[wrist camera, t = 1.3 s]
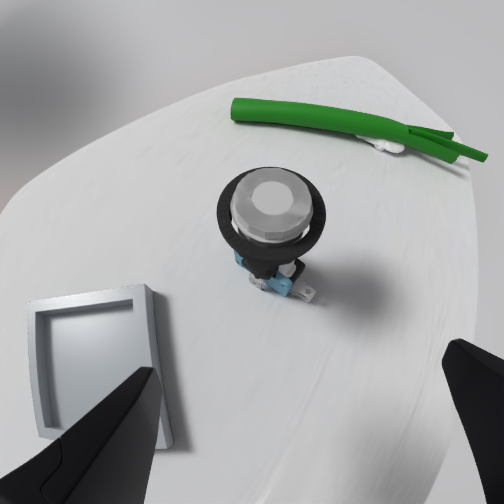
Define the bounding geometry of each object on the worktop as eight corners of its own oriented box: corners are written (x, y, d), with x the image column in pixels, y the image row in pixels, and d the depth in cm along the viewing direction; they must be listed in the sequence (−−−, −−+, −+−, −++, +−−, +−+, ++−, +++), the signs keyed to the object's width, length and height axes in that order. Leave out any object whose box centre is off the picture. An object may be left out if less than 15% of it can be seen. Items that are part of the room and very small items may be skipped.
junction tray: (174, 443, 17) (167, 448, 15) (51, 434, 16) (39, 437, 15) (152, 290, 22) (144, 283, 20) (40, 306, 21) (28, 301, 19)
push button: (328, 274, 22) (372, 205, 13) (288, 330, 20) (314, 295, 11) (260, 227, 24) (260, 139, 15) (217, 277, 22) (190, 207, 13)
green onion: (232, 133, 29) (482, 182, 25) (228, 110, 26) (495, 166, 22) (241, 107, 31) (473, 153, 27) (239, 85, 28) (483, 136, 24)
